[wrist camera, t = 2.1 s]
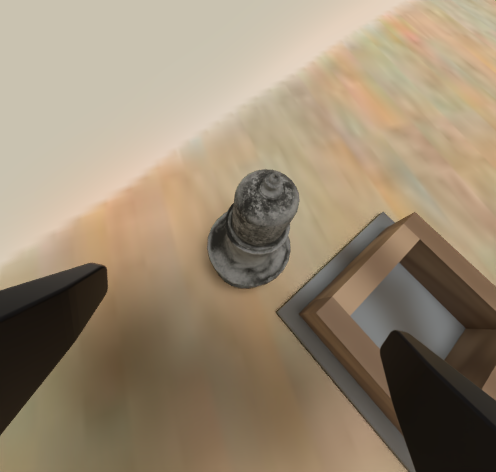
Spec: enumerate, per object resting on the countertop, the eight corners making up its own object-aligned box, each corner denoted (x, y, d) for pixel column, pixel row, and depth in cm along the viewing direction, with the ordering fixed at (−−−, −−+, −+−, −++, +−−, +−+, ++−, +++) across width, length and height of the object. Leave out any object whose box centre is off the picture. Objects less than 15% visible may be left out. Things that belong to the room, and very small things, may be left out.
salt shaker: (290, 276, 20) (383, 219, 8) (224, 303, 18) (230, 280, 7) (262, 216, 21) (309, 99, 10) (199, 237, 20) (172, 131, 9)
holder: (413, 477, 16) (473, 526, 12) (275, 312, 18) (290, 310, 15) (502, 331, 20) (567, 335, 16) (379, 214, 23) (411, 193, 19)
